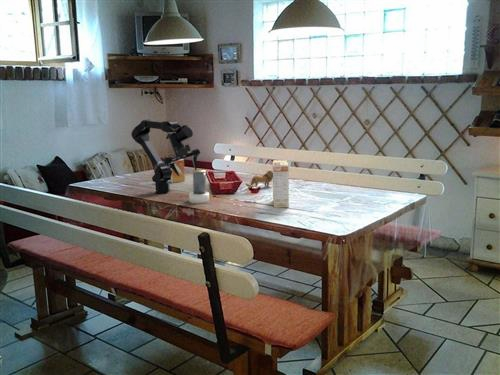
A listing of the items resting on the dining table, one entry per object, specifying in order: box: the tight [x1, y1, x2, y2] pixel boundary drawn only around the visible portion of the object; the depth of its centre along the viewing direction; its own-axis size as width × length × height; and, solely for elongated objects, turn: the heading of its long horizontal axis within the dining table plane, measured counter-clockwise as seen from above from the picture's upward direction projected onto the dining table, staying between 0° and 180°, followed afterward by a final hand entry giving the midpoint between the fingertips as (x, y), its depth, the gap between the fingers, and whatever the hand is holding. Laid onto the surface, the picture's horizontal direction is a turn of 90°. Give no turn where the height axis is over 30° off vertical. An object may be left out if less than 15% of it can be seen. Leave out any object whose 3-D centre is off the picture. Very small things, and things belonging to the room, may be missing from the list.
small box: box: [168, 159, 186, 184], centre depth 289 cm, size 8×6×13 cm
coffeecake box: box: [272, 159, 290, 208], centre depth 229 cm, size 15×7×20 cm, turn 178°
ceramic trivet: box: [188, 191, 211, 204], centre depth 240 cm, size 10×10×4 cm
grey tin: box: [192, 169, 207, 194], centre depth 239 cm, size 6×6×11 cm
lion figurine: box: [250, 169, 273, 189], centre depth 267 cm, size 15×5×9 cm, turn 116°
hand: (187, 173), depth 248 cm, fingers open, 9 cm apart
